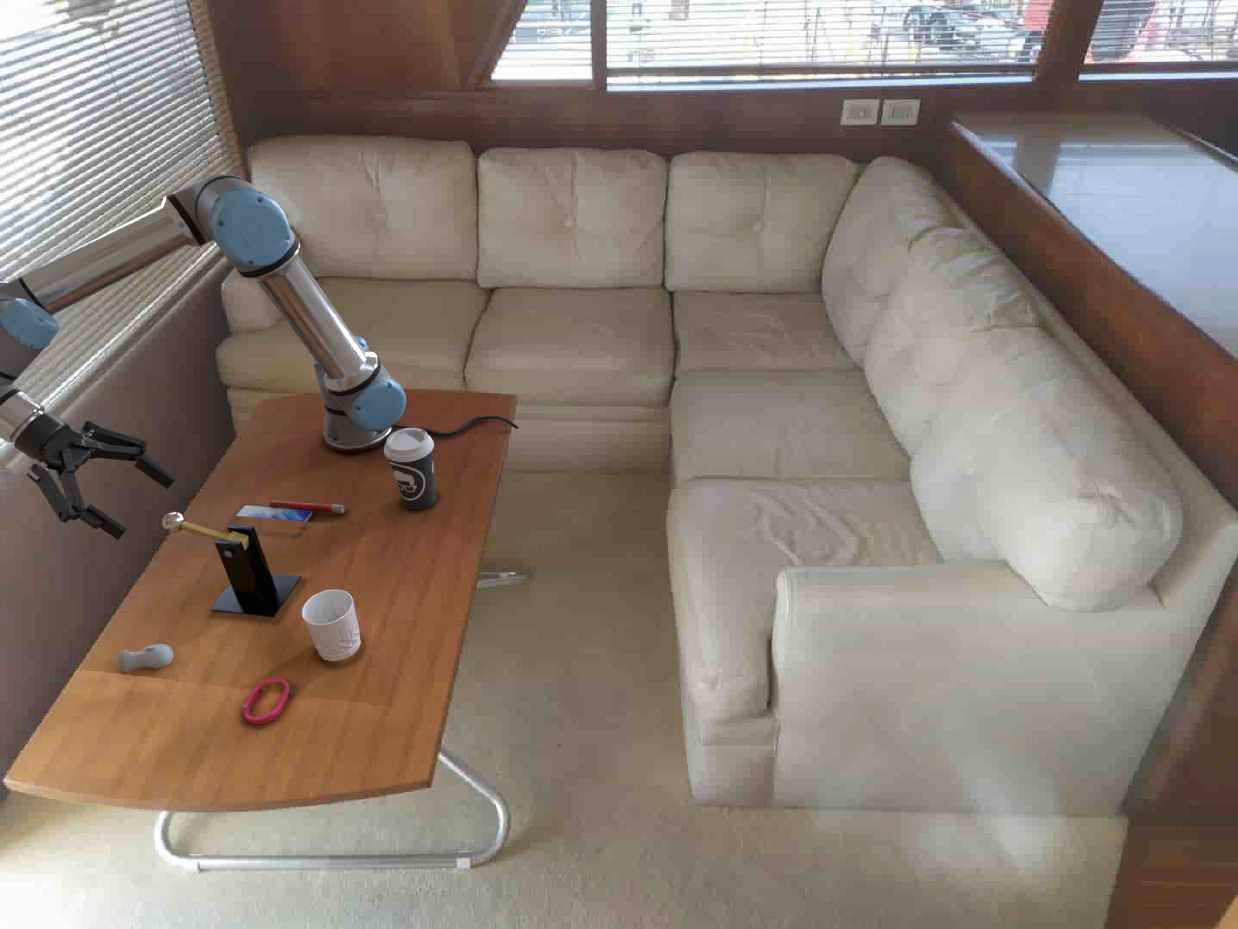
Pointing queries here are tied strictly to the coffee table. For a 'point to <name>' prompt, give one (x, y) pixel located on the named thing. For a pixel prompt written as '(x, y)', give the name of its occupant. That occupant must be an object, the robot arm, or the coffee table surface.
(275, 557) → the coffee table surface
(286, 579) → the bracket
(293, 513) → the smartphone
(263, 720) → the fitness band
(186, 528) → the silver ball pendulum
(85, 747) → the coffee table surface
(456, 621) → the coffee table surface
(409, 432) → the coffee cup
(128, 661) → the smooth white sculpture
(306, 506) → the red road flare
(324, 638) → the white cup
